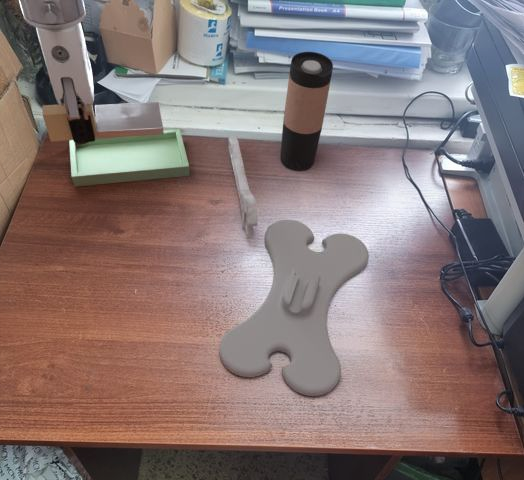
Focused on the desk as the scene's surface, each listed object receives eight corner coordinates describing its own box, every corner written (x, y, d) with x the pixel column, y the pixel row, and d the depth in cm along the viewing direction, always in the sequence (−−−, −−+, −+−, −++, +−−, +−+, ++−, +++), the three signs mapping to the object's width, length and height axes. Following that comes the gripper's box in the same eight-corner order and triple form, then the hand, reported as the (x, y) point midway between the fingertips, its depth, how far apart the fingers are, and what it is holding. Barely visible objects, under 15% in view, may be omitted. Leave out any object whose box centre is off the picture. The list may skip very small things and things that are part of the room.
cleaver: (159, 108, 83) (156, 82, 80) (163, 134, 80) (161, 108, 76) (50, 114, 80) (42, 87, 76) (50, 141, 77) (42, 114, 73)
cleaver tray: (74, 186, 96) (71, 176, 94) (71, 147, 102) (68, 137, 100) (189, 175, 100) (189, 166, 98) (180, 138, 106) (179, 128, 104)
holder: (210, 369, 77) (210, 351, 73) (271, 220, 95) (274, 200, 91) (332, 404, 75) (339, 389, 71) (370, 247, 93) (377, 227, 89)
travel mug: (281, 145, 107) (293, 48, 91) (316, 151, 107) (335, 54, 90) (276, 168, 103) (288, 70, 86) (313, 174, 103) (332, 77, 86)
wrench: (236, 159, 108) (256, 249, 90) (227, 159, 108) (246, 250, 90) (237, 122, 102) (258, 211, 84) (228, 122, 102) (247, 212, 83)
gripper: (85, 34, 59) (112, 166, 75) (81, -28, 67) (106, 103, 83) (17, 36, 58) (59, 170, 73) (21, -28, 66) (58, 105, 82)
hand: (84, 133), depth 78 cm, fingers closed on cleaver, 2 cm apart
